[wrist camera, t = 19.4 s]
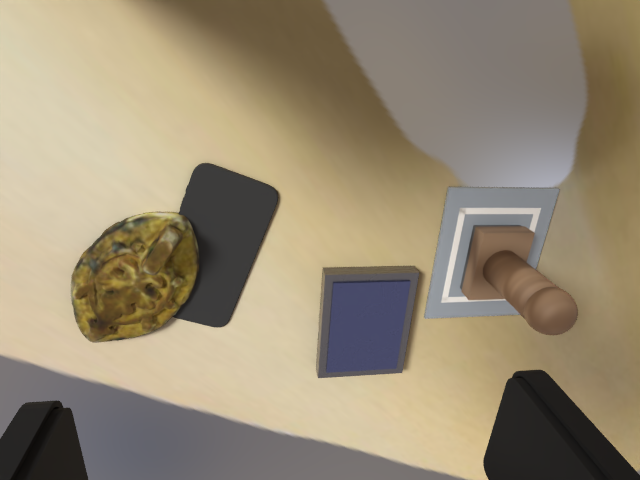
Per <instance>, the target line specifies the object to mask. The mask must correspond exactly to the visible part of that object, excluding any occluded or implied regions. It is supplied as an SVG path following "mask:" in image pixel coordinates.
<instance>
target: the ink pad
mask: <svg viewBox="0 0 640 480" xmlns="http://www.w3.org/2000/svg"><path fill="white" fill-rule="evenodd" d="M418 277H419V272H418V270H417V269H416V268H415V266H383V267H334V268H323V271H322V286H321V301H320V316H319V332H318V347H317V362H316V371H317V376H318V378H327V377H343V376H360V375H376V374H392V373H402V371H403V365H404V359H405V353H406V347H407V342H408V336H409V330H410V324H411V318H412V312H413V306H414V301H415V295H416V289H417V283H418Z"/></svg>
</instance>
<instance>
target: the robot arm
mask: <svg viewBox="0 0 640 480" xmlns="http://www.w3.org/2000/svg"><path fill="white" fill-rule="evenodd" d="M484 470H485V473H486V475H487V477H488V479H489V480H640V475H639V474H638V473H637V472H636V471H635V470H634V468H633V467H632V466H631V465H630V464H629V463H628V462H627V461H626V460H625V458H624V457H623V456H622V455H621V454H620V453H619V452H618V451H617V450H616V449H615V447H614V446H613V445H612V444H611V443H610V442H609V441H608V440H607V439H606V438H605V436H604V435H603V434H602V433H601V432H600V431H599V430H598V429H597V428H596V427H595V425H594V424H593V423H592V422H591V421H590V420H589V419H588V418H587V417H586V416H585V414H584V413H583V412H582V411H581V410H580V409H579V408H578V407H577V406H576V405H575V403H574V402H573V401H572V400H571V399H570V398H569V397H568V396H567V395H566V393H565V392H564V391H563V390H562V389H561V388H560V387H559V386H558V385H557V384H556V382H555V381H554V380H553V379H552V378H551V377H550V376H549V375H548V374H547V373H546V372H545V371H543V370H529V371H516V372H515V373H514V374H513V376H512V378H510V379H508V381H507V383H506V386H505V390H504V393H503V396H502V400H501V403H500V406H499V410H498V413H497V416H496V420H495V423H494V426H493V430H492V433H491V436H490V439H489V443H488V446H487V449H486V453H485V456H484ZM0 480H88V476H87V472H86V468H85V464H84V460H83V456H82V451H81V447H80V443H79V439H78V435H77V431H76V426H75V423H74V418H73V414H72V411H71V409H70V408H63V406H62V403H61V402H60V401H45V402H29V403H25V404H24V405H22V407H21V408H20V409H19V410H18V412H17V413H16V415H15V417H14V418H13V420H12V421H11V423H10V424H9V426H8V428H7V429H6V431H5V433H4V434H3V436H2V437H1V439H0Z"/></svg>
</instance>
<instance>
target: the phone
mask: <svg viewBox="0 0 640 480" xmlns="http://www.w3.org/2000/svg"><path fill="white" fill-rule="evenodd" d="M277 201H278V195H277V192H276V190H275V189H274V188H273V187H272V186H270V185H268V184H266V183H263V182H260V181H258V180H255V179H252V178H249V177H247V176H244V175H241V174H238V173H236V172H233V171H230V170H227V169H225V168H222V167H219V166H216V165H213V164H210V163H202V164H200V165H198V166H197V167H196V168H195V169H194V171H193V173H192V176H191V179H190V182H189V185H187V188H186V194H185V197H184V198H183V201H182V204H181V207H180V212H179V215H184V216H185V217H186V218H187V219H188V220H189V222H190V224H191V226H192V229H193V231H194V234H195V237H196V240H197V244H198V250H199V272H198V276H197V280H196V283H195V286H194V288H193V290H192V292H191V294H190V296H189V298H188V299H187V300H186V302H185V303H184V304H183V305H182V306H181V308H180V309H179V310H178V311H177V313H176V314H175V315H174V316H173V317H175V318H179V319H183V320H187V321H191V322H195V323H199V324H203V325H207V326H211V327H222V326H224V325H226V324H227V323H228V321H229V319H230V317H231V315H232V312H233V310H234V308H235V305H236V303H237V300H238V298H239V295H240V293H241V290H242V288H243V286H244V283H245V281H246V278H247V276H248V273H249V271H250V268H251V266H252V264H253V261H254V259H255V256H256V254H257V251H258V249H259V246H260V244H261V242H262V240H263V237H264V235H265V232H266V230H267V227H268V224H269V222H270V220H271V217H272V215H273V212H274V210H275V207H276V205H277Z"/></svg>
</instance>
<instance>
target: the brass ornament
mask: <svg viewBox="0 0 640 480" xmlns="http://www.w3.org/2000/svg"><path fill="white" fill-rule="evenodd" d="M198 272H199V250H198V244H197V240H196V237H195V234H194V231H193V229H192V226H191V224H190V222H189V220H188V219H187V218H186V217H185V216H184V215H179V213H176V212H149V213H143V214H139V215H136V216H133V217H130V218H126V219H125V220H123V221H121V222H118V223H115V224H114V225H112V226H111V227H109V228H108V229H106V230H105V231H104V232H103V234H102V235H101V236H100V237H99V238H98V239H97V240H96V241H95V242H94V243H93V245H92V246H91V247H89V248H88V249H87V250H86V251H85V252H84V253H83V254H82V256H81V258H80V260H79V262H78V263H77V265H76V267H75V269H74V272H73V274H72V280H71V299H72V305H73V307H74V315H75V319H76V322H77V324H78V327H79V329H80V330H81V332H82V334H83V335H84V336H85V337H86V338H87V339H88V340H89V341H91V342H105V341H112V340H122V339H127V338H134V337H137V336H141V335H144V334H147V333H150V332H152V331H155V330H157V329H158V328H160V327H161V326H163V325H164V324H166V323H167V322H168V320H169V319H171V318H172V317H173V316H174V315H175V314H176V313H177V311H178V310H179V309H180V308H181V306H182V305H183V304H184V303H185V302H186V300H187V299H188V298H189V296H190V294H191V292H192V290H193V288H194V286H195V283H196V280H197V276H198Z"/></svg>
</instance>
